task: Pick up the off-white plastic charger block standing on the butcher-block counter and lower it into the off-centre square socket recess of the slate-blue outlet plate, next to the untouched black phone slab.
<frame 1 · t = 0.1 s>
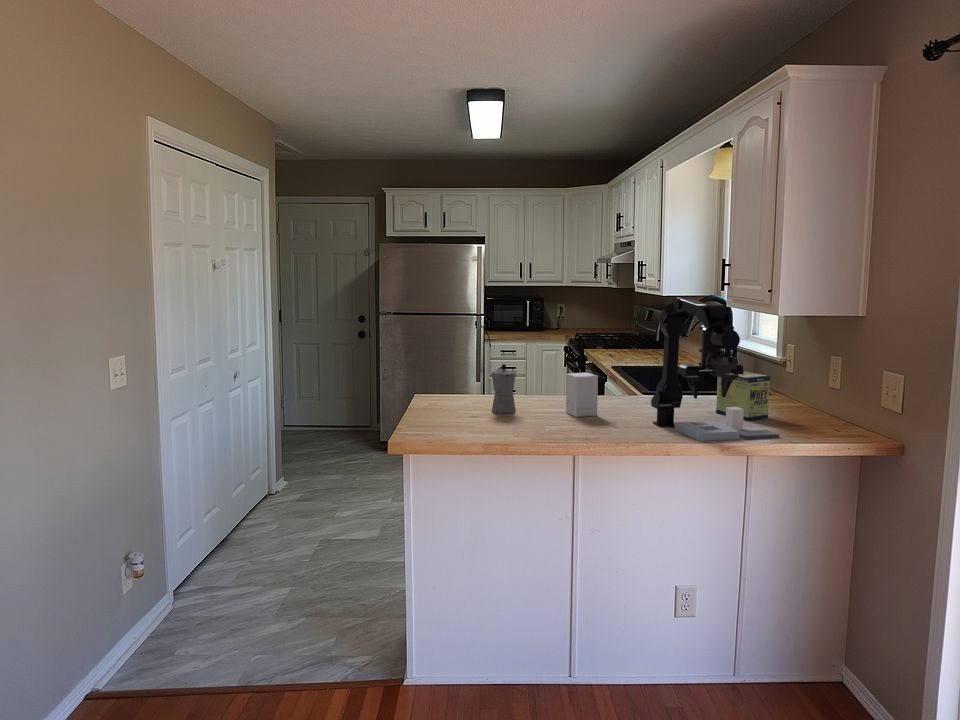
hand: (709, 397, 208), 15 cm above the table, fingers open, 9 cm apart
outlet plate: (706, 433, 224), on the table
phone: (755, 436, 221), on the table
protein box: (741, 416, 252), on the table
coffeepot: (503, 411, 262), on the table
charger: (734, 428, 231), on the table
supplement box: (581, 414, 255), on the table
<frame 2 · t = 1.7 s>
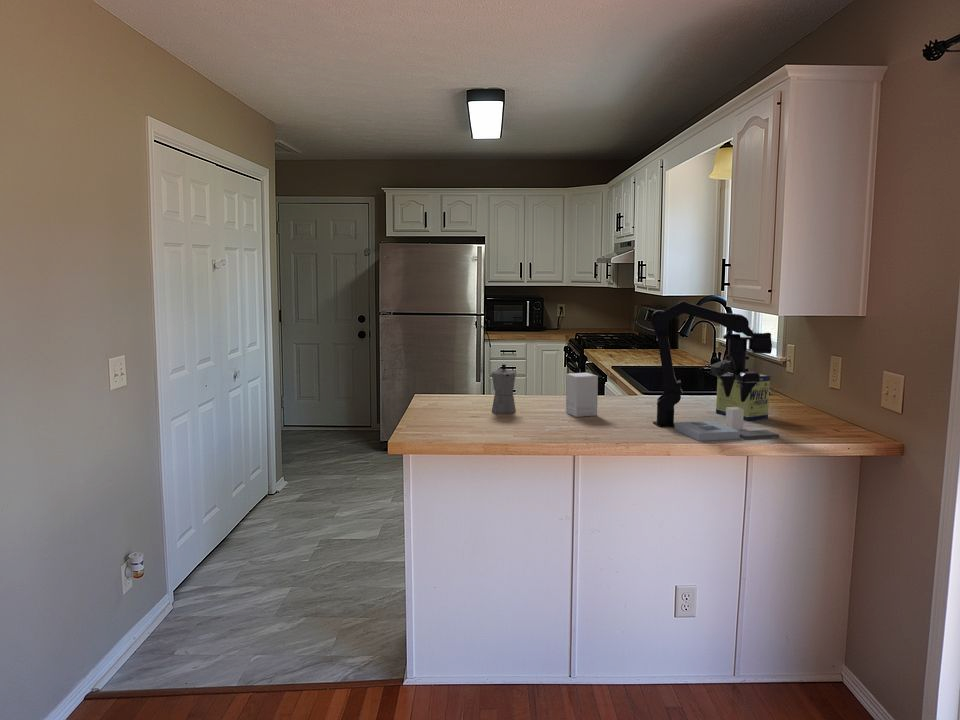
hand: (735, 399, 230), 10 cm above the table, fingers open, 9 cm apart
nothing on the table moved.
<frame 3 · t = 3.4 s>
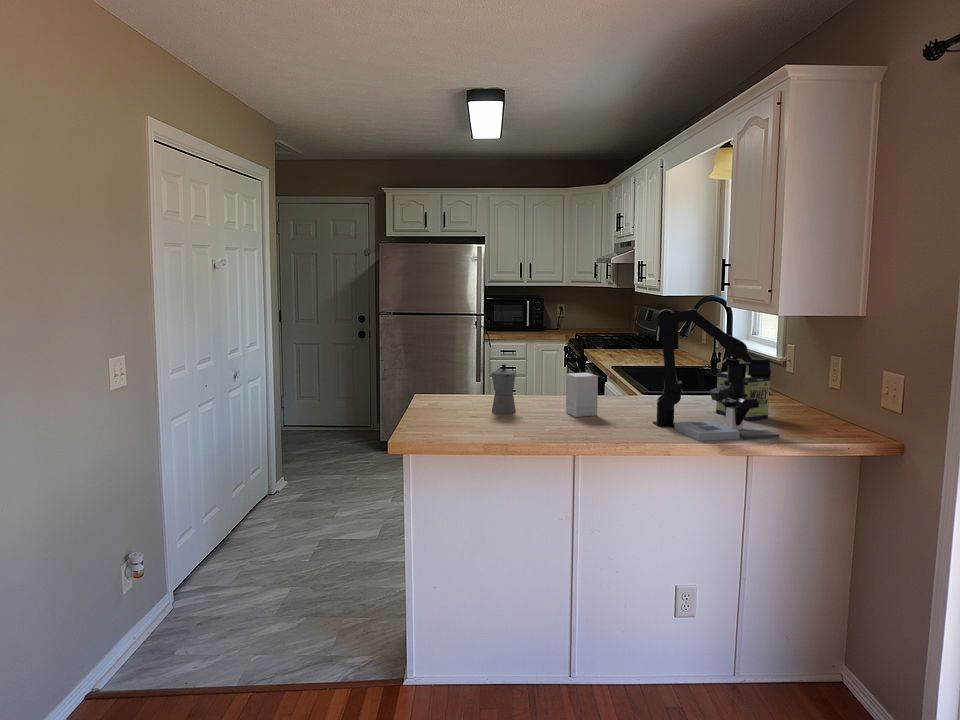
hand: (734, 424, 231), 2 cm above the table, fingers closed on charger, 4 cm apart
charger: (734, 428, 231), on the table, touching gripper
everything else where it was.
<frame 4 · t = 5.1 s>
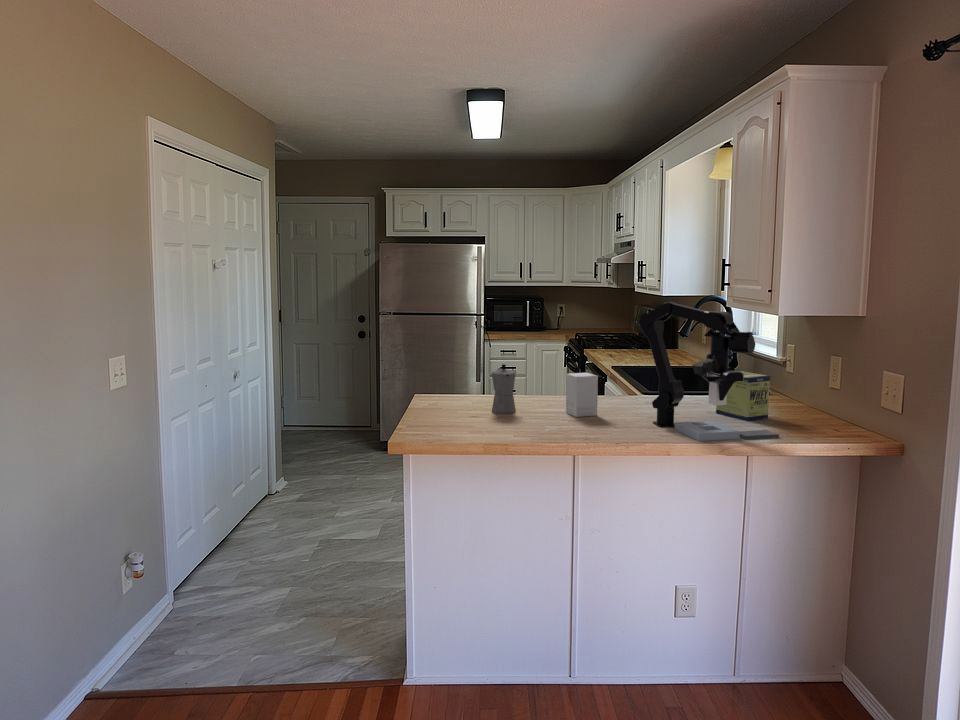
hand: (717, 399, 223), 11 cm above the table, fingers closed on charger, 4 cm apart
charger: (717, 403, 223), point 10 cm above the table, touching gripper
everything else where it was.
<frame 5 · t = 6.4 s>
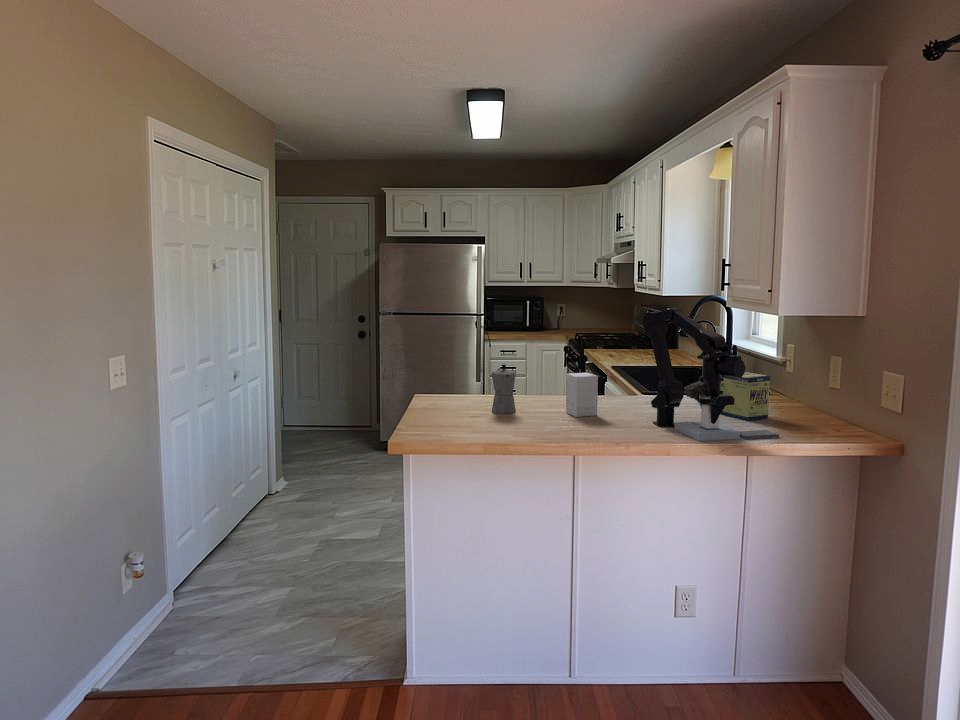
hand: (709, 422, 222), 4 cm above the table, fingers closed on charger, 4 cm apart
charger: (709, 426, 222), point 3 cm above the table, touching gripper
everything else where it was.
when the fingers open (3 cm above the table, at t = 7.0 s): charger drops 1 cm, resting in outlet plate.
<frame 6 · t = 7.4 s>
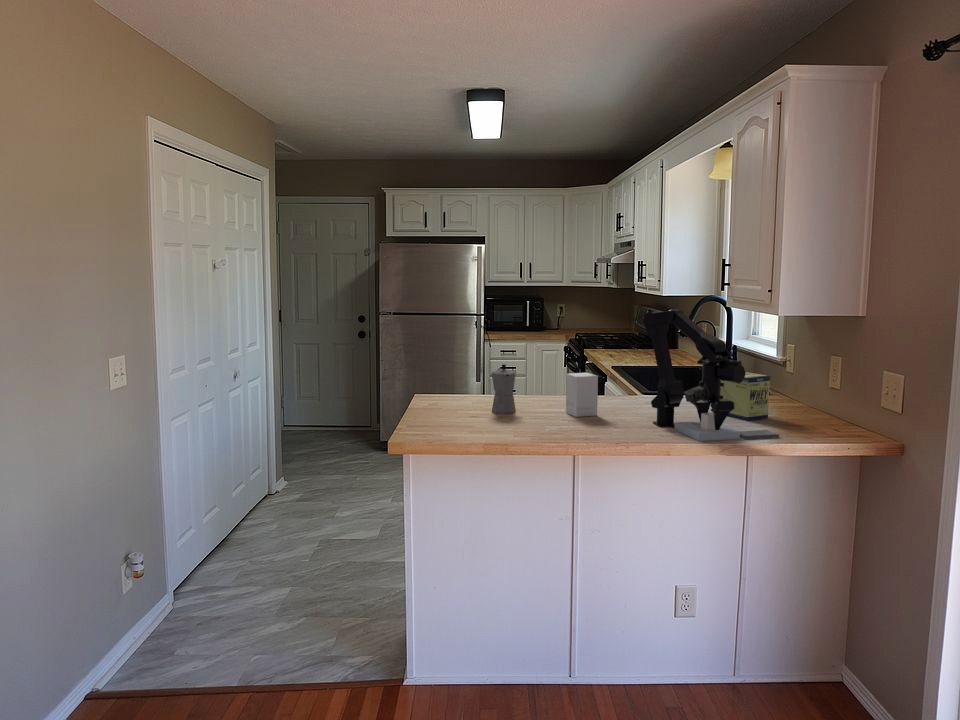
hand: (709, 426, 222), 3 cm above the table, fingers open, 9 cm apart
charger: (709, 435, 222), resting in outlet plate
everything else where it was.
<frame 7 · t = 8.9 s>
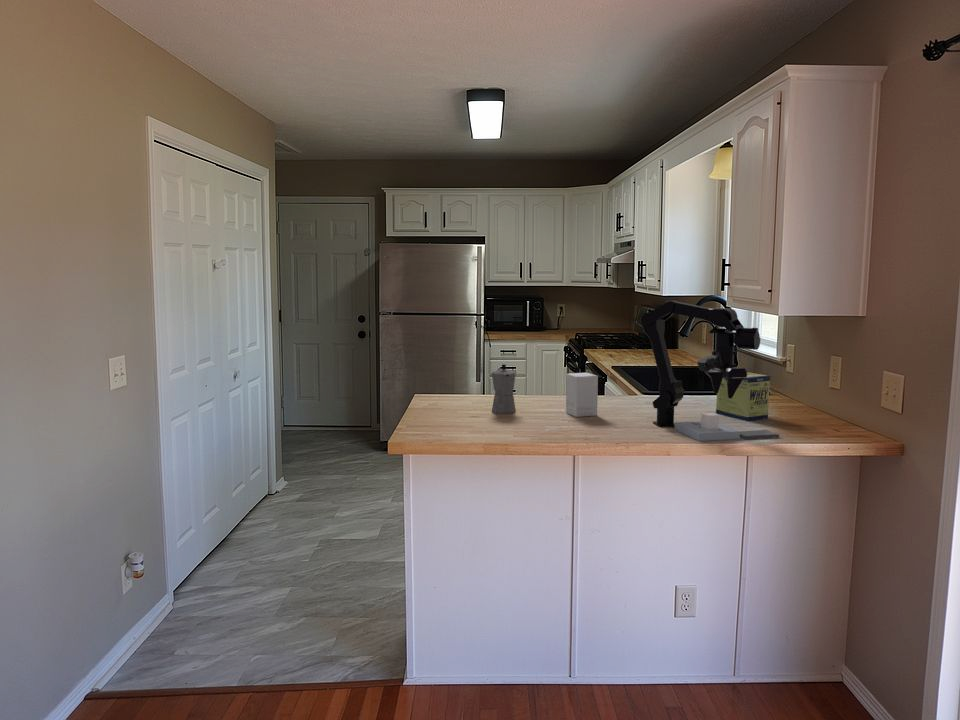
hand: (722, 395, 223), 12 cm above the table, fingers open, 9 cm apart
nothing on the table moved.
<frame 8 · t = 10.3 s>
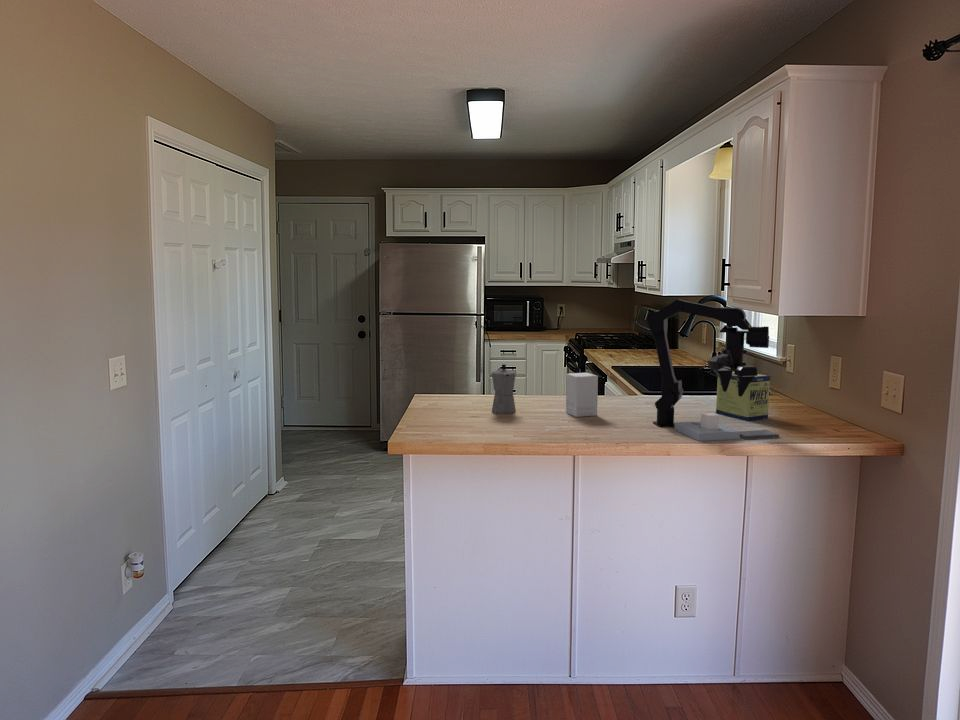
hand: (732, 393, 226), 12 cm above the table, fingers open, 9 cm apart
nothing on the table moved.
at the end: charger 0.1 cm from the target spot on the outlet plate, point 0.0 cm above the outlet plate's base; charger tilted 0°; the gripper is holding nothing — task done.
